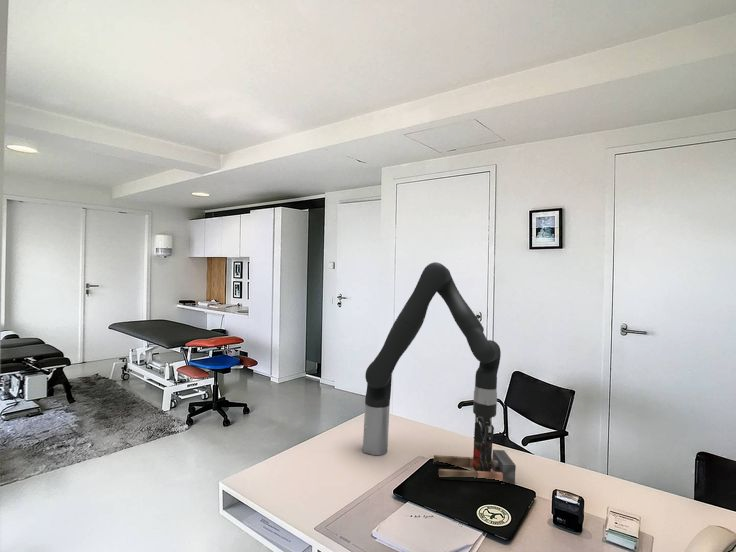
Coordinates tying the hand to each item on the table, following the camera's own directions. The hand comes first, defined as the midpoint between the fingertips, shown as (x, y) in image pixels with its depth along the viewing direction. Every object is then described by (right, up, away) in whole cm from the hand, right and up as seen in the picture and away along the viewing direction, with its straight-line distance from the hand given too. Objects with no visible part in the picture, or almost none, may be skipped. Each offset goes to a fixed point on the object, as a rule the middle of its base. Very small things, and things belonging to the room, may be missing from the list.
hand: (482, 449), depth 133 cm
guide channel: (-4, -8, 0) cm, 9 cm away
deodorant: (0, -7, 0) cm, 7 cm away
